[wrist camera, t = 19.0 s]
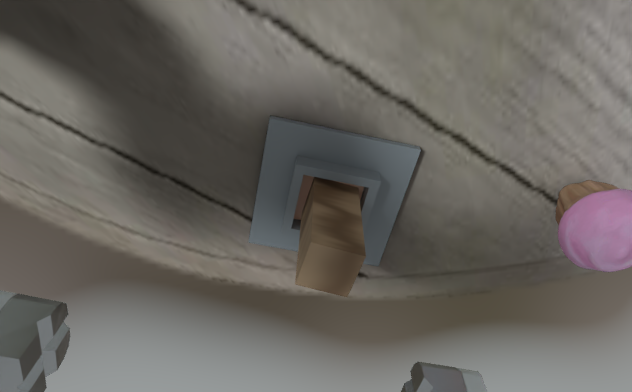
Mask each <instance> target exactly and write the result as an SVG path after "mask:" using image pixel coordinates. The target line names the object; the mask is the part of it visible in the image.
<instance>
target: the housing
mask: <svg viewBox="0 0 632 392" xmlns="http://www.w3.org/2000/svg"><path fill="white" fill-rule="evenodd" d="M420 151H421V149H420V147H418V146H414V145H409V144H404V143H399V142H394V141H390V140H385V139H380V138H375V137H371V136H366V135H361V134H356V133H352V132H347V131H342V130H337V129H333V128H328V127H323V126H318V125H314V124H309V123H304V122H299V121H295V120H290V119H285V118H280V117H275V116H271V115H270V119H269V125H268V131H267V136H266V142H265V148H264V154H263V160H262V166H261V172H260V177H259V183H258V189H257V195H256V201H255V207H254V212H253V218H252V224H251V230H250V236H249V243H254V244H260V245H265V246H271V247H276V248H281V249H287V250H292V251H298V248H299V238H300V227H301V216H302V211H303V208H304V205H305V202H306V199H307V196H308V193H309V191H310V188H311V185H312V182H313V179H314V177H318V178H323V179H328V180H332V181H336V182H339V183H343V184H347V185H350V186H354V187H357V188H358V189H359V198H360V207H361V216H362V225H363V234H364V243H365V252H366V258H365V260H364V262H363V264H368V265H373V266H379V263H380V260H381V258H382V255H383V252H384V249H385V247H386V244H387V241H388V239H389V236H390V233H391V230H392V228H393V225H394V222H395V220H396V217H397V214H398V211H399V209H400V206H401V203H402V200H403V198H404V195H405V192H406V190H407V187H408V184H409V181H410V179H411V176H412V173H413V170H414V168H415V165H416V162H417V160H418V157H419V154H420Z"/></svg>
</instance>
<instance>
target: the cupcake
mask: <svg viewBox="0 0 632 392" xmlns="http://www.w3.org/2000/svg"><path fill="white" fill-rule="evenodd" d="M556 221H557V223H558V224H559V228H558V239H559V243H560V246H561V248H562V250H563V252H564V254H565V255H566V256H567V258H569V259H570V260H571V261H572V262H573V263H574V264H576V265H577V266H579V267H582V268H585V269H594V270H599V271H603V272H613V271H619V270H623V269H626V268H629V267H631V266H632V191H631V190H626V189H619V188H617V187H615V186H613V185H610V184H607V183H602V182H595V181H591V180H587V181H585V182H582V183H575V184H570V185H567V186H565V187H564V188H563V189H562V190H561V191H560V192H559V198H558V201H557V207H556Z"/></svg>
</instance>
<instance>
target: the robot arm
mask: <svg viewBox="0 0 632 392" xmlns="http://www.w3.org/2000/svg"><path fill="white" fill-rule="evenodd" d="M67 315H68V309H67V304H66V303H63V302H59V301H53V300H48V299H43V298H38V297H32V296H28V295H22V294H17V293H11V292H6V291H0V392H44V391H45V389H46V380H45V377H47V376H48V375H50V374H52V373H53V372H55V371H56V370H58V368H59V366H60V365H61V363H62V361H63V359H64V357H65V354H66V352H67V349H68V346H69V341H70V328H69V327H68V326H67V325H66V324H65V323H64V320H65V318H66V317H67ZM410 372H411V378H412V379H411V380H410V381H408V382H406V383H404V386H403V388H402V390H401V392H487V390H486V387H485V384H484V381H483V378H482V376H481V374H480V373H479V372H478V371H471V370H465V369H459V368H455V367H449V366H442V365H436V364H430V363H422V362H417V363H415V364H414V365H413V367H412V369H411V371H410Z"/></svg>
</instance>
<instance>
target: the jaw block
mask: <svg viewBox="0 0 632 392" xmlns="http://www.w3.org/2000/svg"><path fill="white" fill-rule="evenodd" d="M365 258H366V252H365V243H364V234H363V225H362V216H361V207H360V198H359V189H358V188H357V187H354V186H350V185H347V184H343V183H339V182H336V181H332V180H328V179H323V178H318V177H314V179H313V182H312V185H311V188H310V191H309V193H308V196H307V199H306V202H305V205H304V208H303V211H302V216H301V227H300V238H299V248H298V259H297V270H296V281H295V284H296V285H300V286H304V287H308V288H312V289H316V290H320V291H324V292H328V293H332V294H336V295H340V296H344V297H348V294H349V292H350V290H351V288H352V286H353V284H354V281H355V279H356V277H357V275H358V273H359V271H360V268H361V266H362V264H363V262H364V260H365Z"/></svg>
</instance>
